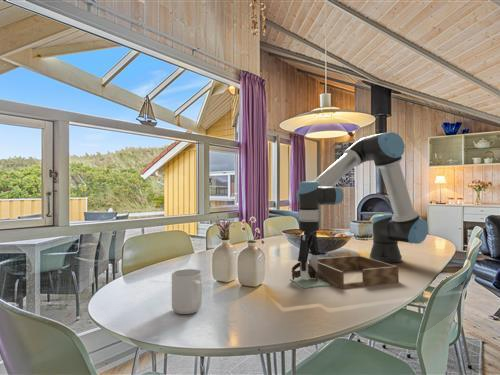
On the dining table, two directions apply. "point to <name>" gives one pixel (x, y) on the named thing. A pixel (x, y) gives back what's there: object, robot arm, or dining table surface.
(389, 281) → the crate
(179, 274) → the mug
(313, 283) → the mat
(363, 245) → the dining table surface
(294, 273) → the brown hollow vessel
